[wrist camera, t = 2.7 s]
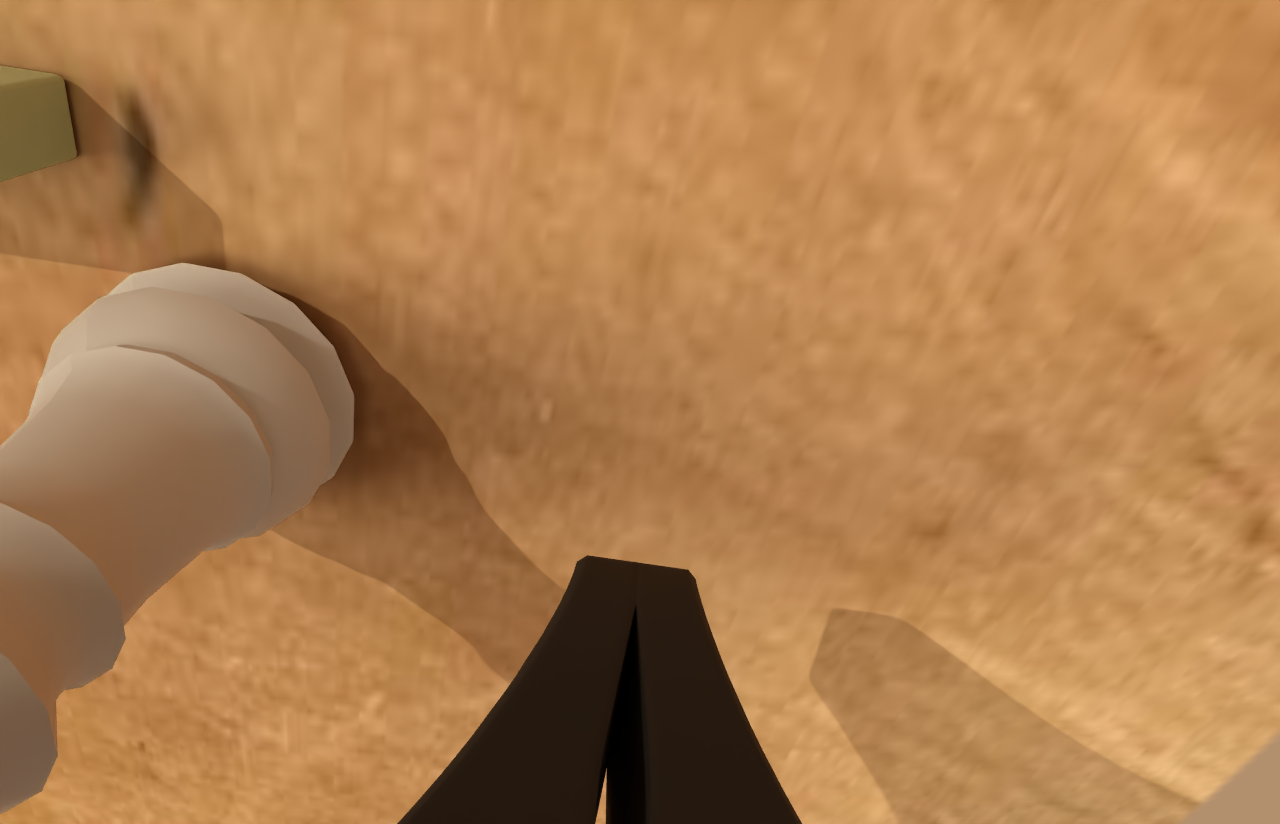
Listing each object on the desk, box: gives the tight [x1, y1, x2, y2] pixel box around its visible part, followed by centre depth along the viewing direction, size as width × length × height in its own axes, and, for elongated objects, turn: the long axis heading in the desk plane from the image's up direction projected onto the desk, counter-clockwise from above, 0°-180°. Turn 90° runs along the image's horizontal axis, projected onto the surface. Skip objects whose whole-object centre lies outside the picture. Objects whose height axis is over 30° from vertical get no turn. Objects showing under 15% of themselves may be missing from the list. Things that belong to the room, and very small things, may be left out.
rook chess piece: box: [0, 263, 354, 814], centre depth 11 cm, size 4×4×8 cm
